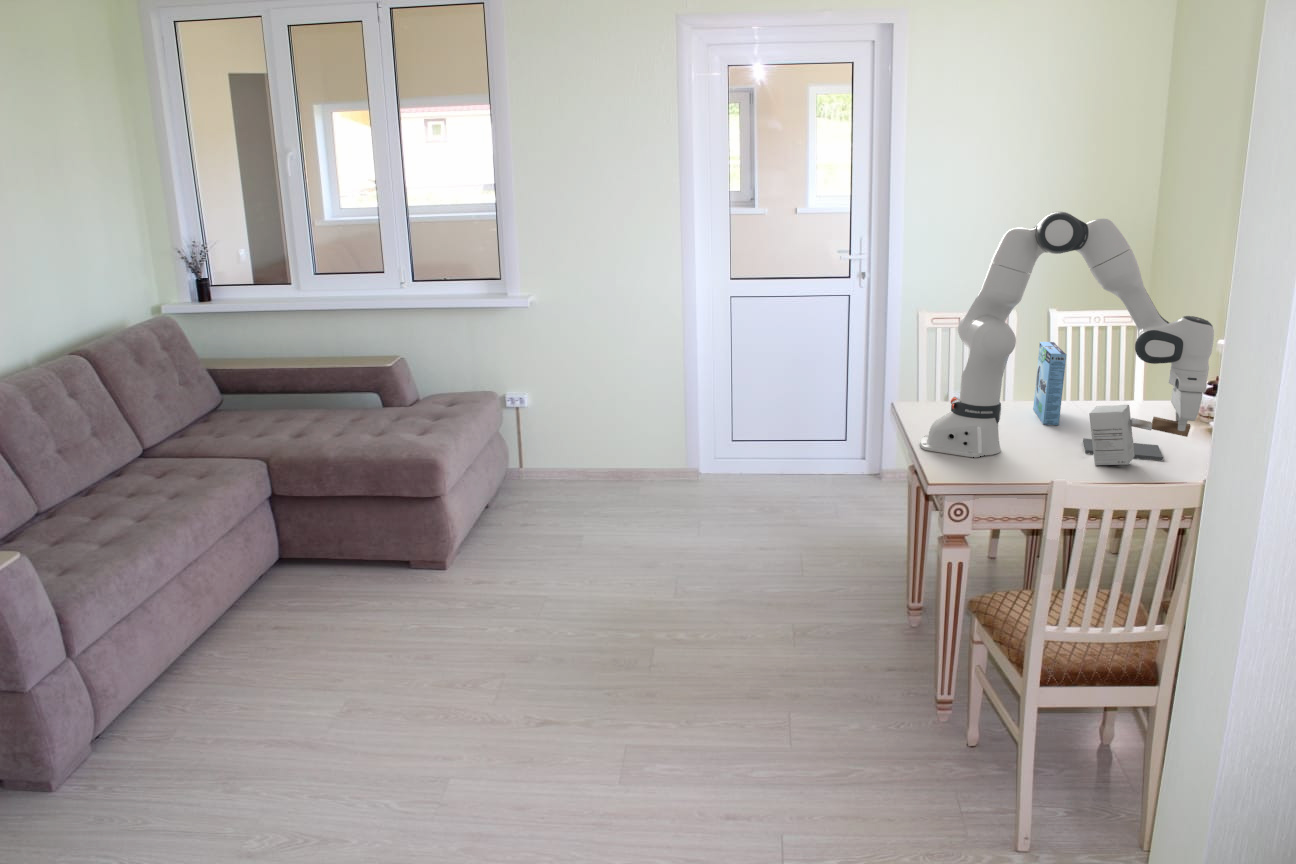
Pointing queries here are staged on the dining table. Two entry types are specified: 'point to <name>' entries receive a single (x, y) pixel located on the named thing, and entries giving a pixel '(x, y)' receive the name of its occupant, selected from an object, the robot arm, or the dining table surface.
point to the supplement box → (1112, 435)
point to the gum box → (1049, 383)
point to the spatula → (1160, 425)
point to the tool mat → (1139, 450)
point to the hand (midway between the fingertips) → (1179, 428)
